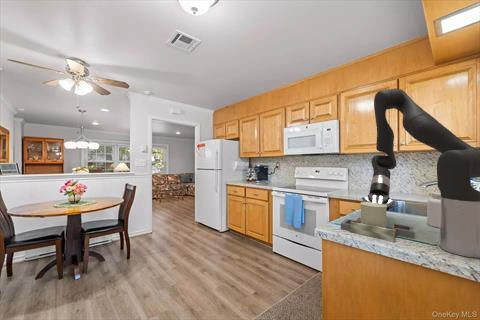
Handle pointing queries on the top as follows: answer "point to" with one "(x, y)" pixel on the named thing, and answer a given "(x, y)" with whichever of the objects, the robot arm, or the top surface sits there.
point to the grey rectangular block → (373, 214)
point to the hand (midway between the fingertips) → (375, 218)
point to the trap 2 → (405, 231)
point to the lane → (373, 230)
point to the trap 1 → (346, 224)
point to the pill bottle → (434, 210)
